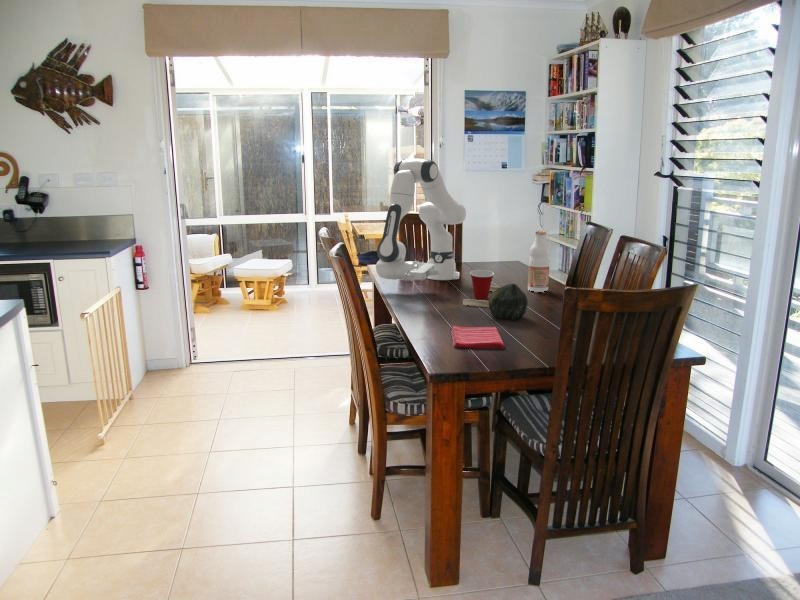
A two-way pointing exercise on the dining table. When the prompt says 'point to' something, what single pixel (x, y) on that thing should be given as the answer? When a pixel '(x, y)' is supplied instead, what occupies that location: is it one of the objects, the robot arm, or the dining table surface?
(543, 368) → the dining table surface
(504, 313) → the squash
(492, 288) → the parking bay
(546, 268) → the fruit juice
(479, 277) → the plastic cup
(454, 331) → the dish towel
